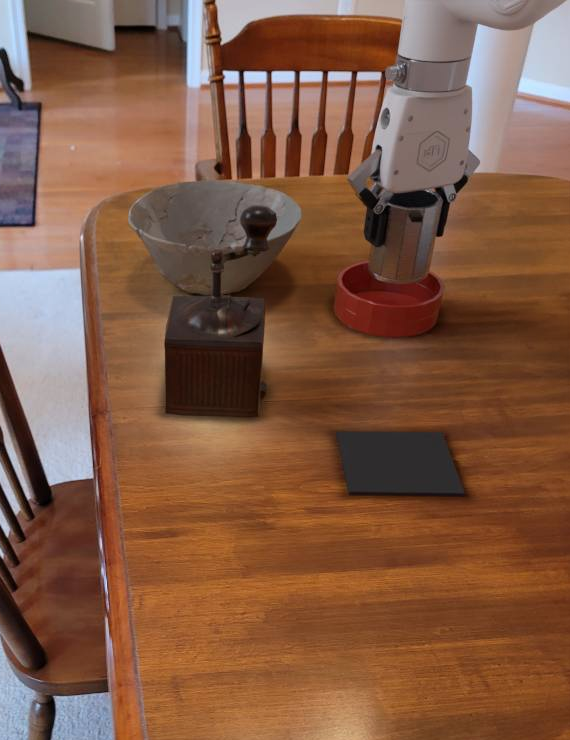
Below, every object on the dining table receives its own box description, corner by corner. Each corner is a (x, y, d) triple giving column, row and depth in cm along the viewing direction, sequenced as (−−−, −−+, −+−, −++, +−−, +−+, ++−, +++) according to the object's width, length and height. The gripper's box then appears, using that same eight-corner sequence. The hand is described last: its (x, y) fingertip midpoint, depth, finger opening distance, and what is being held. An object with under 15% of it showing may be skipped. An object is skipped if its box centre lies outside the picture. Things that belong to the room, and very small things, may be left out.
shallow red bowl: (425, 292, 112) (432, 260, 109) (446, 341, 102) (454, 307, 99) (328, 292, 112) (332, 259, 109) (340, 340, 103) (345, 306, 100)
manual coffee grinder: (265, 422, 90) (279, 261, 78) (163, 417, 91) (161, 257, 78) (266, 349, 101) (279, 199, 89) (175, 345, 102) (175, 196, 90)
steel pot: (419, 254, 106) (432, 182, 100) (435, 289, 99) (451, 213, 93) (362, 255, 107) (372, 183, 101) (374, 289, 99) (385, 213, 93)
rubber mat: (441, 438, 87) (442, 432, 87) (463, 499, 80) (465, 493, 79) (335, 437, 88) (336, 431, 87) (348, 498, 80) (349, 491, 80)
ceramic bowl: (298, 253, 121) (306, 182, 115) (287, 329, 105) (295, 252, 98) (149, 243, 124) (147, 174, 118) (115, 316, 108) (111, 240, 101)
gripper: (375, 91, 84) (352, 261, 96) (523, 73, 88) (484, 238, 99) (340, 74, 89) (323, 237, 101) (481, 57, 93) (449, 216, 105)
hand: (403, 237), depth 100 cm, fingers closed on steel pot, 7 cm apart
